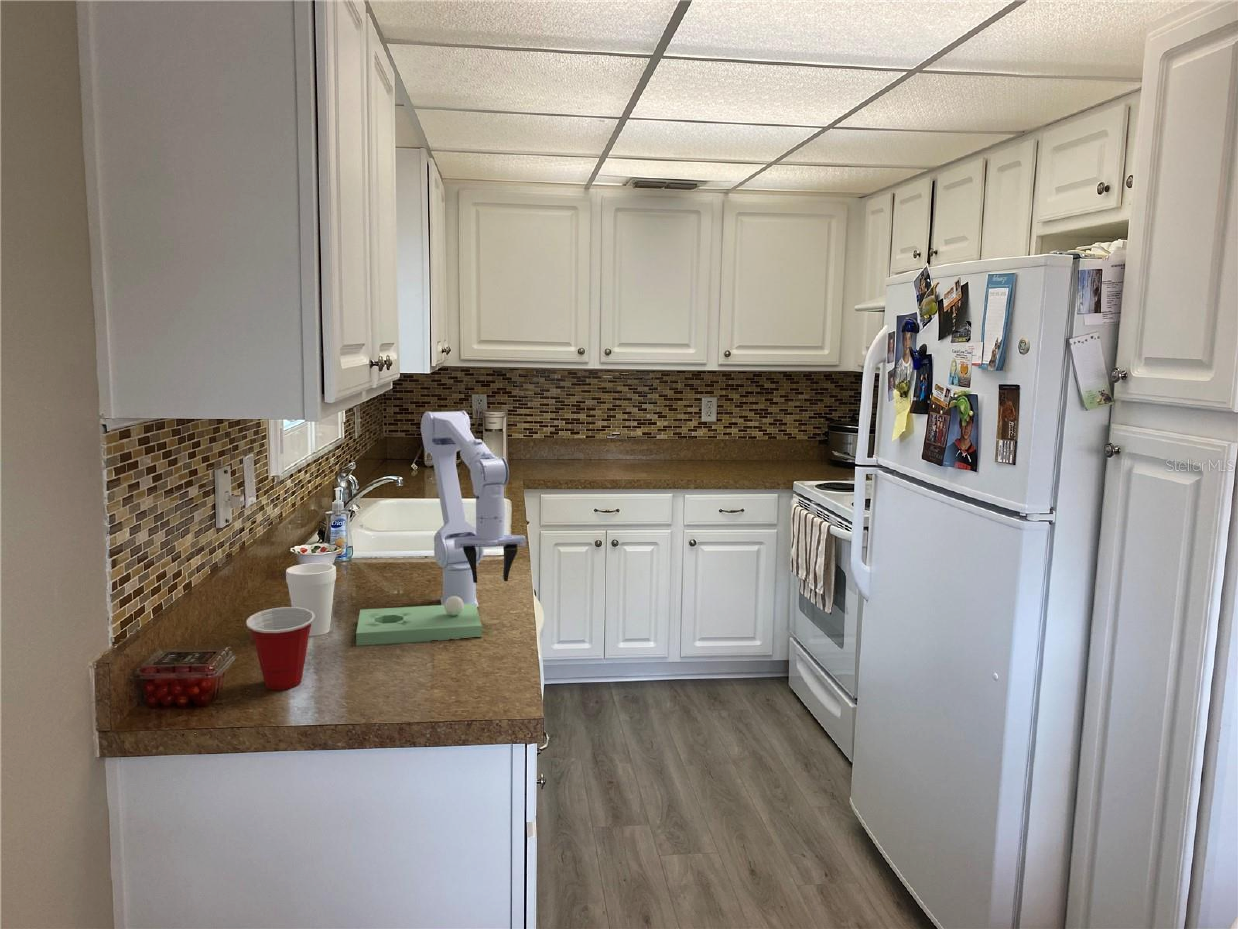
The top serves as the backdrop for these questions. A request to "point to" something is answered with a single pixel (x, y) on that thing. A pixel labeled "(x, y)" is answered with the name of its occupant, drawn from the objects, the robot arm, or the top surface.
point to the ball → (453, 605)
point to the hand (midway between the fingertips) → (490, 581)
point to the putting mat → (416, 624)
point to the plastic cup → (281, 644)
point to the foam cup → (313, 592)
